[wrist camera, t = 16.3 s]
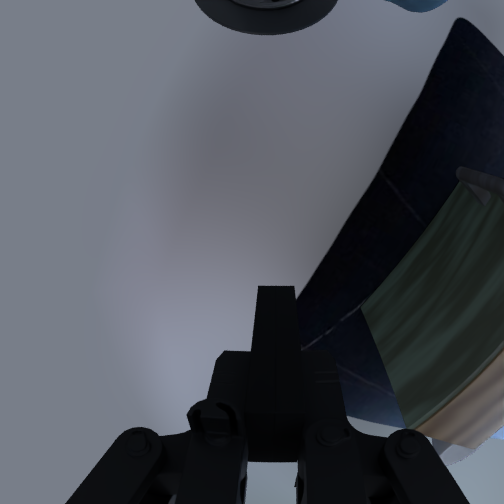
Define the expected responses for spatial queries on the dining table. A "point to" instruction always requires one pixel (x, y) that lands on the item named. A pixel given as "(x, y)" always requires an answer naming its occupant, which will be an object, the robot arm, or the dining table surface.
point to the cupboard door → (444, 300)
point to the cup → (451, 451)
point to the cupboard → (471, 410)
